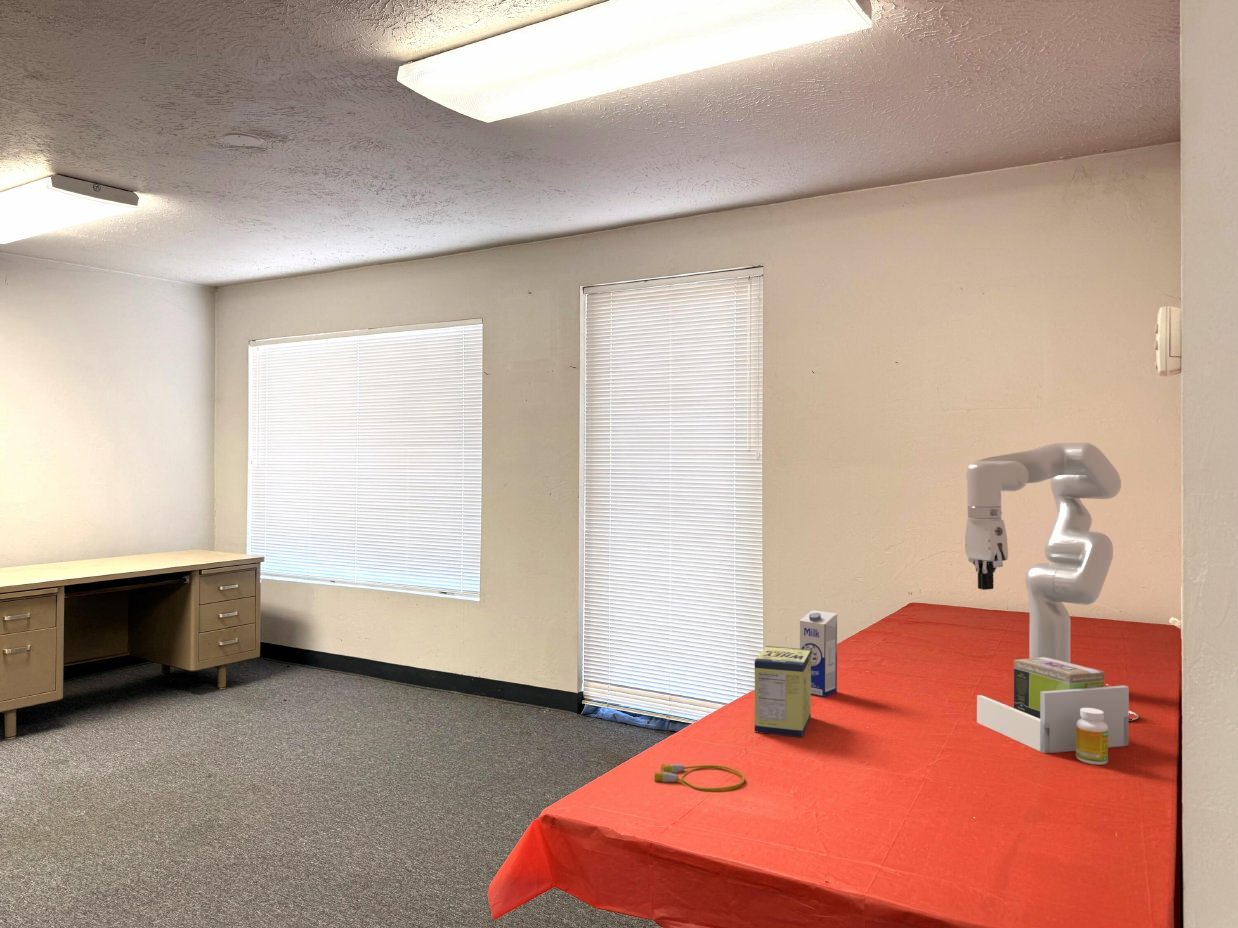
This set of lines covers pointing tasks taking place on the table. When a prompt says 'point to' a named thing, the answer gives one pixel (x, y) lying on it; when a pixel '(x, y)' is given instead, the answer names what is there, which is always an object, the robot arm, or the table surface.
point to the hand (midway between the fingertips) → (985, 588)
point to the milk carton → (821, 650)
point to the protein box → (783, 691)
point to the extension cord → (675, 768)
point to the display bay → (1059, 717)
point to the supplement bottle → (1092, 737)
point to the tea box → (1049, 680)
